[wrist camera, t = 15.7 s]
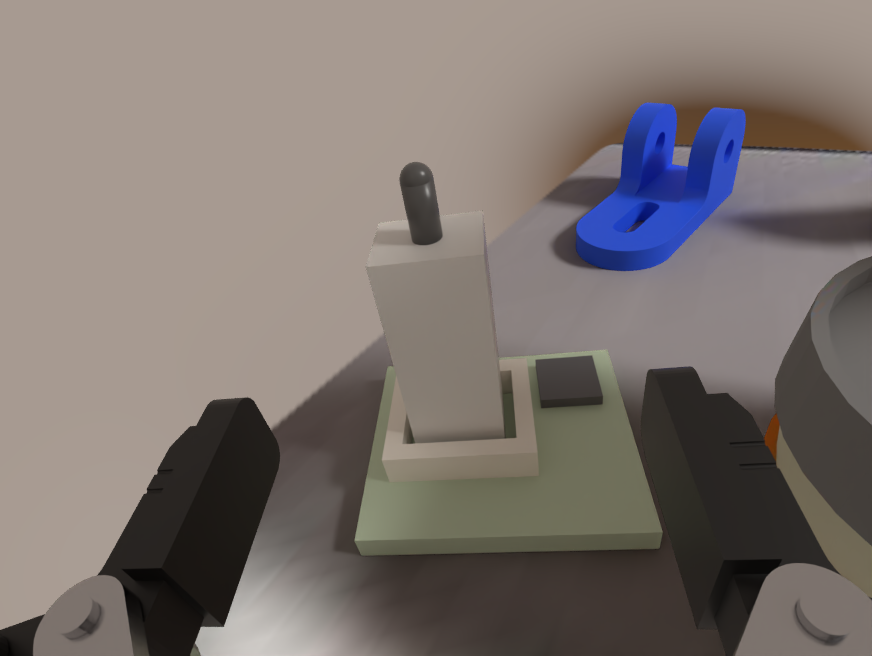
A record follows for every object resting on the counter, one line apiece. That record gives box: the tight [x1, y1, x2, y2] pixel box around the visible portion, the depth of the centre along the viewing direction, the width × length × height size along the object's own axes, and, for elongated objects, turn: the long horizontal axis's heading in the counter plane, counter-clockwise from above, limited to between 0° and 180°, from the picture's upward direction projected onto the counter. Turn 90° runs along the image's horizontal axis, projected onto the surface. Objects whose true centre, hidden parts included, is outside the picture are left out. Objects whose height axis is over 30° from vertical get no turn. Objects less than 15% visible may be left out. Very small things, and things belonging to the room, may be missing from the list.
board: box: [354, 350, 663, 556], centre depth 30 cm, size 15×13×4 cm
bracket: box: [576, 103, 745, 271], centre depth 46 cm, size 18×8×9 cm, turn 137°
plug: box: [366, 162, 506, 444], centre depth 26 cm, size 5×5×16 cm
